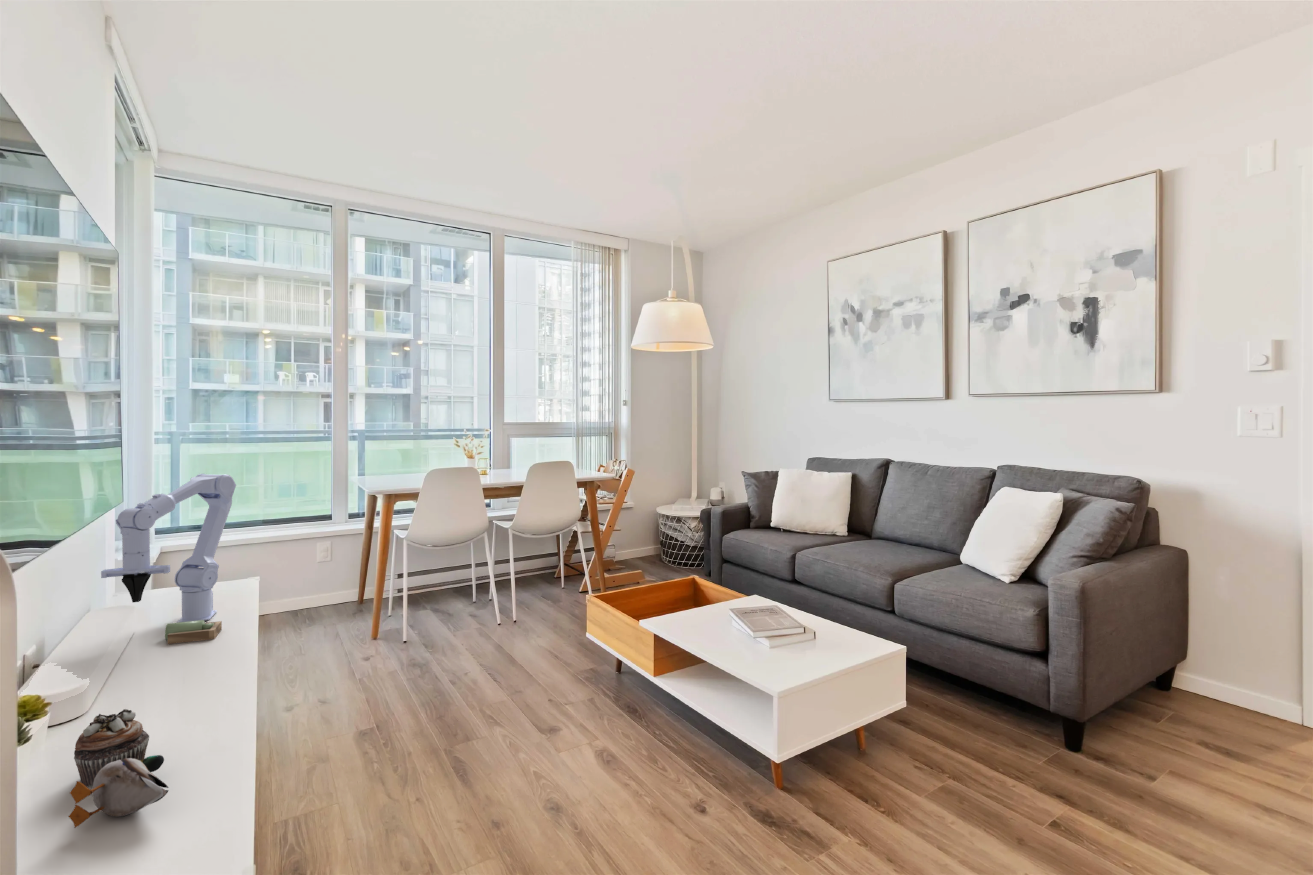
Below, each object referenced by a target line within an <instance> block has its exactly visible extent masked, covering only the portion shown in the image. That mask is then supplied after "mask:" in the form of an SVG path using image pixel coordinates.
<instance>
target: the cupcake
mask: <svg viewBox="0 0 1313 875" xmlns="http://www.w3.org/2000/svg"><path fill="white" fill-rule="evenodd" d="M136 716H137V715H136V712H134V711H132V710H131V709H130V710H129V709H126V708H125V709H123V710H121V711H120V712H118V713H117V714H116V713H112V714H108V715H107V714H106V715H105V714H101V713H98V715H95V717H94V718H93V721H92V722H90V723H89V725H88V726H87V727H86V728H84V729H83V731H82V733H81V734H80V735H79V736H78V738H77V740H76V742H75V747H74V752H73V753H74V754H73V755H74V757H73V759H74V762H75V765H76V768H77V772H78V775H79V778H80V782H81V783H82V784H84V785H85V786H86V787H91V788H93V782H94V779H95V777H96V775H97V774H98V772H99V771H100V770H101V769H102V768H103V767H104V766H105V765H107V764H109V763H111V762H114V761H117V760H122V759H127V758H132V759H137V760H139V761H141V760H143V759H145V758H146V754H147V749H148V745H149V741H150V734H149V733H148V732H147V731H146V730H144V728H143V724H142V723H141V722H140V721H138V720H136V719H135V718H136Z"/></svg>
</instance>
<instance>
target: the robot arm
mask: <svg viewBox="0 0 1313 875" xmlns="http://www.w3.org/2000/svg"><path fill="white" fill-rule="evenodd" d="M236 487H237V484H236V482H235V480H234V478H233V477H232V476H231V475H230V474H225V473H224V474H210V473H208V474H207V473H199V474H197V475H195V476H193V477H191V478H190V480H189V481H187V482H186V483H184V484H182V485H180V486H178V488H176V489H174V490H172V491H171V492H168V494H166V493H155V494H153V495H152V498H149V499H148V500H146V501H144V502H140V503H137V504H136V506H135V507H134V508H133V507H128V508H125V509H123V510H122V511H120V513H119V514H118V517H117V519H115V524H116V526H117V528H119V530H120V534H121V538H122V540H121V542H122V543H121V544H122V546H121V547H122V549H121V550H122V552H121V553H122V567H117V568H110V569H109V568H105V569H102V570H101V572H100V575H101V576H100V577H101V579H107V578H114V577H122V578H121V582H122V583H123V585H124V586H125V587H126V589H127V591H128V593H129V596H130V598H131V602H132V603H140V602H141V601H142V598H143V594H144V590H145V588H146V585H147V583H148V581H149V579H150V577H151V576H152V575H154V574H156V575H157V574H170V573H171V564H164V565H162V564H161V565H160V564H157V565H156V564H155V565H154V564H153V565H151V551H150V550H151V548H150V543H151V542H150V540H151V539H150V534H151V533H150V532H151V531H150V529H152V528H153V526H154V525H155V523H156V522H157V520H159V519H160V518H162V517H164V516H165V515H167V514H169V513H172V511H174V510H175V508H176V505H177V504H179V503H180V502H183V501H185V500H187V499H189V498H191V497H193V496H195V495H198V496H199V497H200V498H201V499H203V501H204V502H206V503H207V504H208V506H209V507H208V509H207V512H206V516H205V518H204V522H203V524H202V526H201V530H200V533H199V535H198V537H197V540H196V544H195V545H194V546H195V547H194V549H193V552H192V555H191V556H190V557H188V558H187V559H185V560H183V562H182V564H181V566H180V568H179V569H178V570H177V571H176V573H175V574H174V584H175V585H176V586H177V587H178V588H179V591H181V617H180V618H179V619H178V620H177V621H176V623H178V622H188V621H198V620H204V621H210V620H211V619H212V617H213V616H214V615H215V614H216V613H217V611H218V610H216V609H215V610H214V593H213V592H214V591H213V590H212V589H214V586H215V585H216V583H217V581H218V578H219V577H218V576H219V574H218V573H219V572H218V571H219V568H220V565H219V564H218V562H217V561H216V560H215V559H214V557H215V554H216V552H217V550H218V545H219V543H220V540H221V537H222V534H223V532H224V528H225V525H226V522H227V519H228V517H229V513H230V511H231V508H232V504H233V495H234V492H235V489H236Z"/></svg>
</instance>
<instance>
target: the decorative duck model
mask: <svg viewBox="0 0 1313 875" xmlns="http://www.w3.org/2000/svg"><path fill="white" fill-rule="evenodd" d="M164 761H165V758H164V756H163V755H161V754H158V755H155V754H154V755H150V756H147V757H145V758H144V759H143V760H141V761H139V760H137V759H132V758H127V759H122V760H117V761H114V762H111V763H109V764H107V765H105V766H104V767H103V768H102V769H101V770H100V771H99V772H98V774H97V775H96V777H95V779H94V782H93V787H92V789H90V788H88V786H85V785H84V784H82V782H81V781H78V780H76V781H75V782H76V783H75V786H74V787H73V788H72V790H70V791H69V794H70V796H71V797H72V798H73V800H74V806H75V807H74V808H73V810H72V812H71V813H70V814H69V815H68V818H69V819H70V820H71V821H72V823H73V826H74V827H73V828H74V829H76V828H78V827H79V826H80V825H82V824H83V823H84V822H85V821H86V820H88V819H89V818H91V816H93V815H94V814H96V813H98V812H100V811H101V812H102V813H104V814H105V815H108V816H111V817H124V816H128V815H130V814H134V813H136V812H138V811H140V810H142V809H144V808H145V807H147V806H150V805H153V804H154V803H157V802H159V801H161V799H163V798H164V797H165V796H166V795H167V794H168V792H169V790H167V789H168V788H170V787H169V786H168V785H167V784H166V783H165V781H162V780H161V779H160V778H159V777H157V776H156V775H155V774H153V772H156V771H157V770H159V769H160V768H161V766H162V765H164ZM164 788H165V789H164ZM90 795H92V799H93V802H94V804H95V807H96V808H97V809H95V810H94V811H88V810H86V809H85V808H83V807H81V806H80V805H77V804H78V803H80V802H81V801H82V800H84V799H86V798H87V797H89V796H90Z"/></svg>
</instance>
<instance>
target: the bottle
mask: <svg viewBox="0 0 1313 875" xmlns="http://www.w3.org/2000/svg"><path fill="white" fill-rule="evenodd" d="M205 623H206V622H205V621H204V620H198V621H188V622H178V623H177V622H170V623H166V625H165V629H164V638H165V640H166V641H168V634H170V633H179V632H189V631H198V630H207V629H211V628H212V626H213V625H214V623H209V622H208V623H209V624H205Z"/></svg>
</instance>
